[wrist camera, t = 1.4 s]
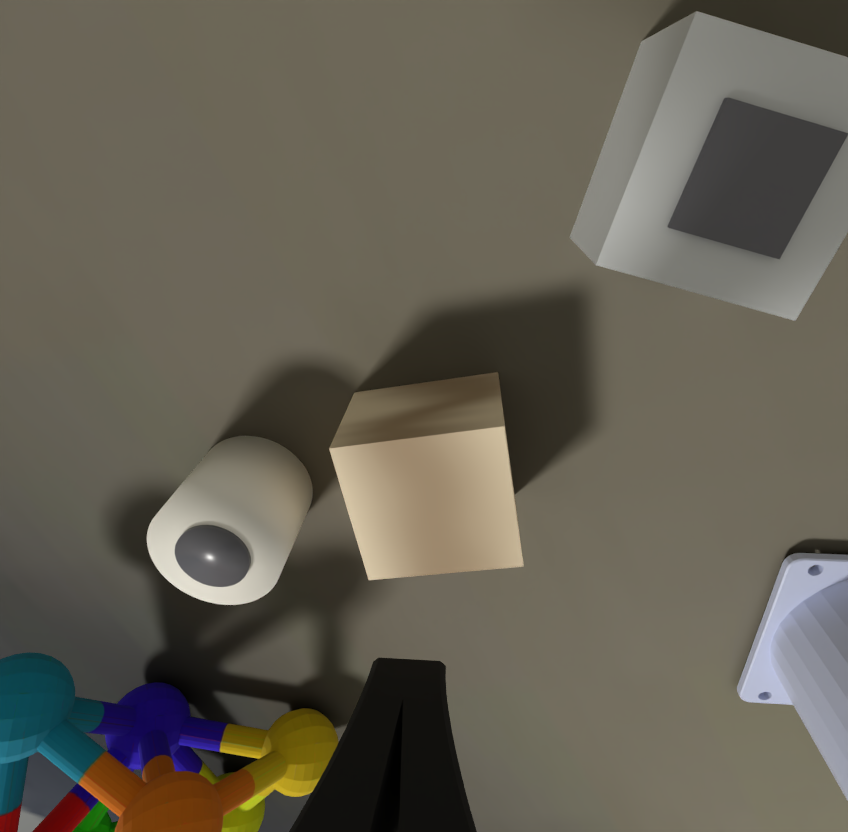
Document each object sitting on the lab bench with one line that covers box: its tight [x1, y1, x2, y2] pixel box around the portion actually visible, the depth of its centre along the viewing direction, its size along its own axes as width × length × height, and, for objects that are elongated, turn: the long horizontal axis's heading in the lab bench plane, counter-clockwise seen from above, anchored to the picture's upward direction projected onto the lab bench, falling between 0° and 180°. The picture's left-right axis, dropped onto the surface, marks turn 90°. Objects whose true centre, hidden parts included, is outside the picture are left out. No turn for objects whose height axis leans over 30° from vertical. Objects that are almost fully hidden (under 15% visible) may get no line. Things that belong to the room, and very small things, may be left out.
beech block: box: [329, 372, 523, 580], centre depth 18 cm, size 5×5×4 cm
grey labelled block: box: [570, 11, 848, 321], centre depth 14 cm, size 5×5×4 cm
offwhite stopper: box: [147, 436, 313, 605], centre depth 19 cm, size 4×4×4 cm
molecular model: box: [0, 653, 338, 832], centre depth 24 cm, size 15×10×15 cm
